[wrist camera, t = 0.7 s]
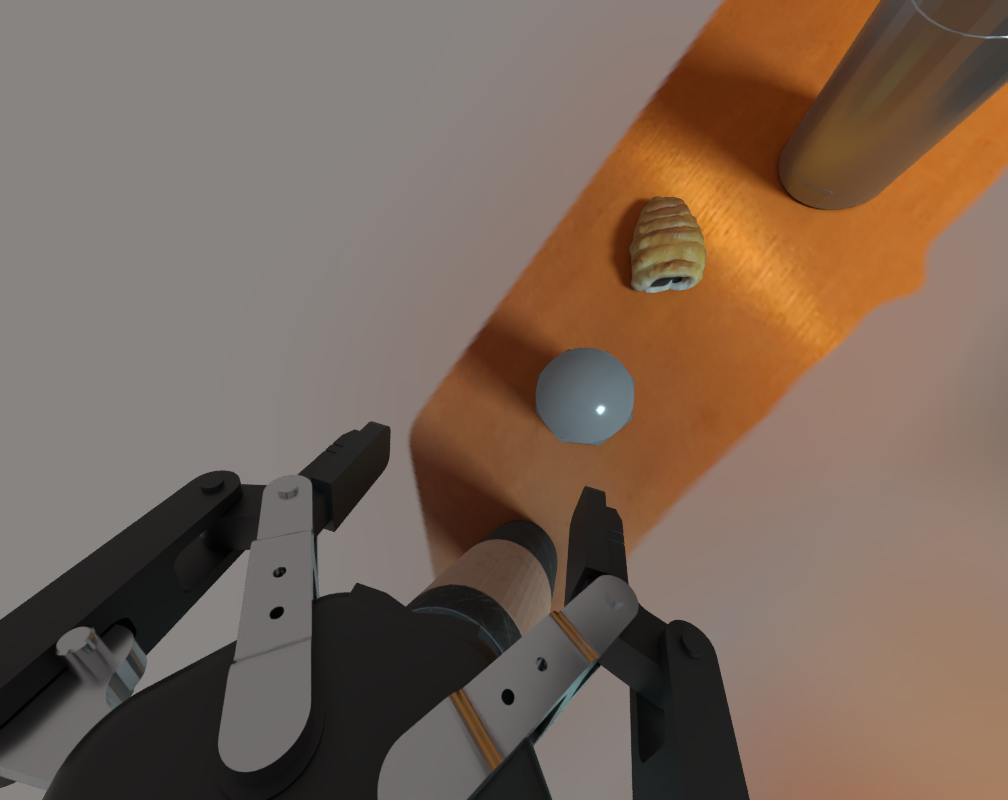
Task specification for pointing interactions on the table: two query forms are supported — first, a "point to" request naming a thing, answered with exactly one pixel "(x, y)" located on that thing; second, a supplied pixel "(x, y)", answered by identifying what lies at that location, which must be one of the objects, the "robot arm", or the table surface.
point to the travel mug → (498, 584)
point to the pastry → (666, 247)
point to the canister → (585, 396)
